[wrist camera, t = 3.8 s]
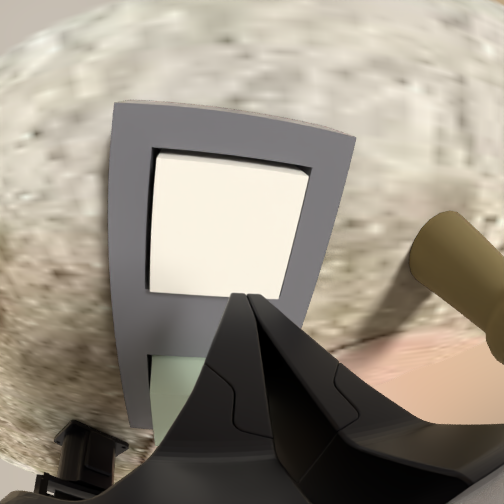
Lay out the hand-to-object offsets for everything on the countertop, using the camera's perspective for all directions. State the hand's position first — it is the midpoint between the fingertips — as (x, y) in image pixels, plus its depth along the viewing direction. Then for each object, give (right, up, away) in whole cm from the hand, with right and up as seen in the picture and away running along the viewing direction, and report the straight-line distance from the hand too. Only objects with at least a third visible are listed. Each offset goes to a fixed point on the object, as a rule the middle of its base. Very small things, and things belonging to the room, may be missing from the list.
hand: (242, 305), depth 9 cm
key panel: (-2, -1, +10) cm, 11 cm away
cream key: (-1, +4, +7) cm, 8 cm away
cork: (+14, +2, +12) cm, 19 cm away
